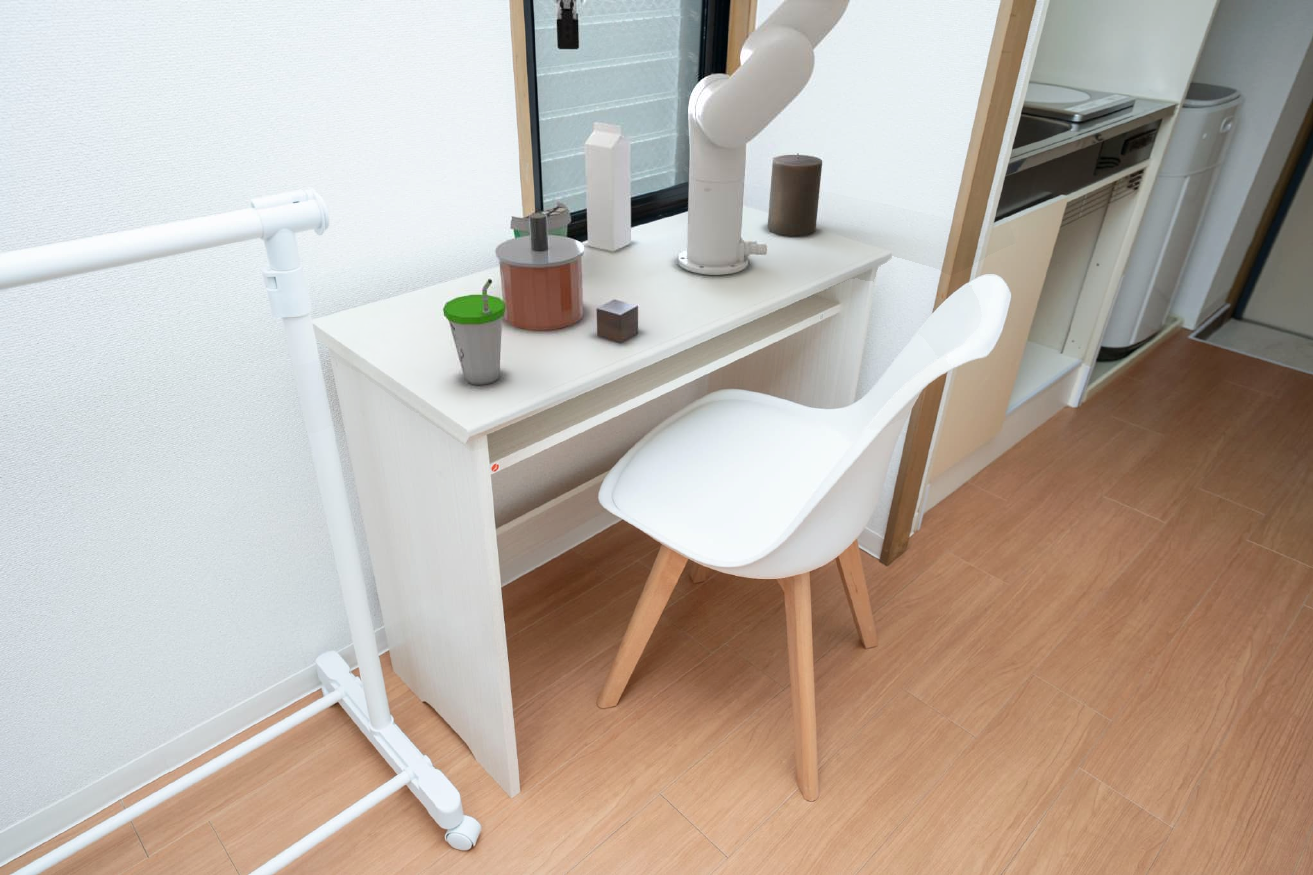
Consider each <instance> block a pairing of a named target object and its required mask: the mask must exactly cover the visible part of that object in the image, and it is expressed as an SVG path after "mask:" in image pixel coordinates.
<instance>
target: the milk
mask: <svg viewBox="0 0 1313 875" xmlns="http://www.w3.org/2000/svg"><path fill="white" fill-rule="evenodd" d="M621 126H622V125H618V124H611V123H604V122H597V121H596V122H595V121H594V122H593V131H592V133H591V134H590V136H588V138H587V139H586V141H585V142H584V165H585V166H584V167H585V168H584V169H585V192H586V193H585V195H586V223H587V226H586V227H587V228H586V229H587V247H592V248H596V249H600V250H605V251H609V252H615V251H618V250H620V249H622V248H624V247H626V246H629V245H630V244H631V243H632V204H631V203H632V198H631V197H632V194H631V193H632V192H631V191H632V190H631V189H632V188H631V187H632V186H631V184H632V182H631V181H632V180H631V179H632V176H631V172H632V171H631V169H632V168H631V140H629V139H628V138H626V137H625V136H624V135H622V127H621Z"/></svg>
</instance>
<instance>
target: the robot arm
mask: <svg viewBox="0 0 1313 875" xmlns="http://www.w3.org/2000/svg"><path fill="white" fill-rule="evenodd" d="M586 1H587V0H580V3H581V5H584V4H585V3H586ZM850 1H851V0H784V1H783V2H782V3H781V4H779V6H778V7H777V8H776V9H775V10H774V11H773V12H772V13H771V14H770V15H769V16H768V17H767V18H766V19H765V20H764V21H763V22H762V23H761V24H760V25H758V27H757V28H756V29H755V30H754V31H752V32H751V34H750V35H749V36H748V37H747V38H746V40H745V41H744V43H743V45H742V47H741V51H740V66H739V67H738V68H737V69H736V70H735V71H734V72H733V73H732V74H731V75H729V74H725V73H714V74H710V75H707V76H705V77H704V78H702V79H700V81H699V82H698V83H697V84H696V85H695V87H694V88H693V89H692V92H691V94H690V98H689V102H688V113H687V114H688V115H687V116H688V117H687V118H688V136H689V137H688V138H689V168H688V169H689V170H688V172H689V173H688V197H687V198H688V199H687V200H688V201H687V203H688V204H687V208H688V209H687V231H686V232H687V236H686V241H687V242H686V249H685V250H683V251H682V252H680V253H679V254H678V256H677V263H678V265H679V266H680V267H681V268H682V269H683V270H686V271H688V272H691V273H695V274H701V275H709V276H721V275H722V276H723V275H730V274H735V273H736V274H737V273H739V272H741V271H744V270H745V269H747V267H748V265H749V257H750V255H756V256H766V255H767V253H768V246H767V243H758V241H757V240H749V241H745V240H744V239H743V238H742V226H743V212H744V211H743V210H744V196H745V195H744V194H745V180H746V179H745V178H746V166H747V164H746V162H747V144H748V143H749V142H751V141H753V139H755V138H756V137H757V136H758V135H760V134H761V132H763V130H764V129H765V128H767V127H768V126H769V124H771V123H772V122H773V121H774V120H775V119H776V118H777V117H778V116H779V115H780V114H781V113H782V112H783V111H784V110H785V109H786V108H787V107H788V106H789V105H790V104H791V103H792V102H793V101H794V100H795V99H796V98H797V97H798V96H799V95H800V93H802V91H803V90H804V89H805V87H806V86H807V85H808V83H809V81H810V80H811V77H812V75H813V72H814V68H815V57H816V56H815V51H814V50H815V49H816V48H817V47H818V46H819V44H820V43H821V42H823V40H824V39H825V38H826V37H827V35H828V34H829V33H831V31H832V30H833V29H834V28H835V26H837V24H838V23H839V21H841V19H842V18H843V16H844V14H845V12H846V10H847V9H848V6H849V4H850ZM553 3H555V4H557V14H556V15H557V18H556V40H557V42H556V43H557V44H556V45H557V48H558V49H559V50H579V48H580V30H579V13H577V0H553Z"/></svg>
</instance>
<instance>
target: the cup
mask: <svg viewBox="0 0 1313 875" xmlns="http://www.w3.org/2000/svg"><path fill="white" fill-rule="evenodd" d="M492 283H493V279H491V278H488V279H487V281H486V282H485V284H484V285H483V287H482V289H481V294H468V295H464V296H457V297H455V298H453V299H451V300H449V301H446V303H445V304H444V306H443V308H442V311H443V316H444V317H445V319H447V321H448V323H449V327H450V330H451V334H452V338H453V341H454V345H455V349H456V352H457V353H456V354H457V357H458V360H459V363H460V367H461V371H462V375H463V379H464V380H465V382H466V383H467V384H471V385H474V386H486V385H490V384H493V383H495V382H496V381H498V380H499V378H500V372H501V371H500V370H501V349H502V333H503V332H502V331H503V330H502V329H503V317H505V315H504V313H505V310H506V307H505V302H503V299H502V298H500V297H498V296H494V295H490V294H488V289H489V288H490V287H491V285H492Z"/></svg>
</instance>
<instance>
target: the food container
mask: <svg viewBox="0 0 1313 875" xmlns="http://www.w3.org/2000/svg"><path fill="white" fill-rule="evenodd" d="M534 213H543V214H546V215H547V228H548V235H555V236H563V237H568V225H569V224H570V223H571V222H572V217H571V213H570V210H569V209H568V206H567V204H565V203H563V202H559V201H556V206H555V207H553V208H550V209H547V210H537V211H534V212H532V213H531V214H534ZM509 228H510V229H511V230H513V235H514V238H518V237H524V236H530V225H529V215H527V216H525V217H518V216H513V215H512V216H511V220H510V226H509Z"/></svg>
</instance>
